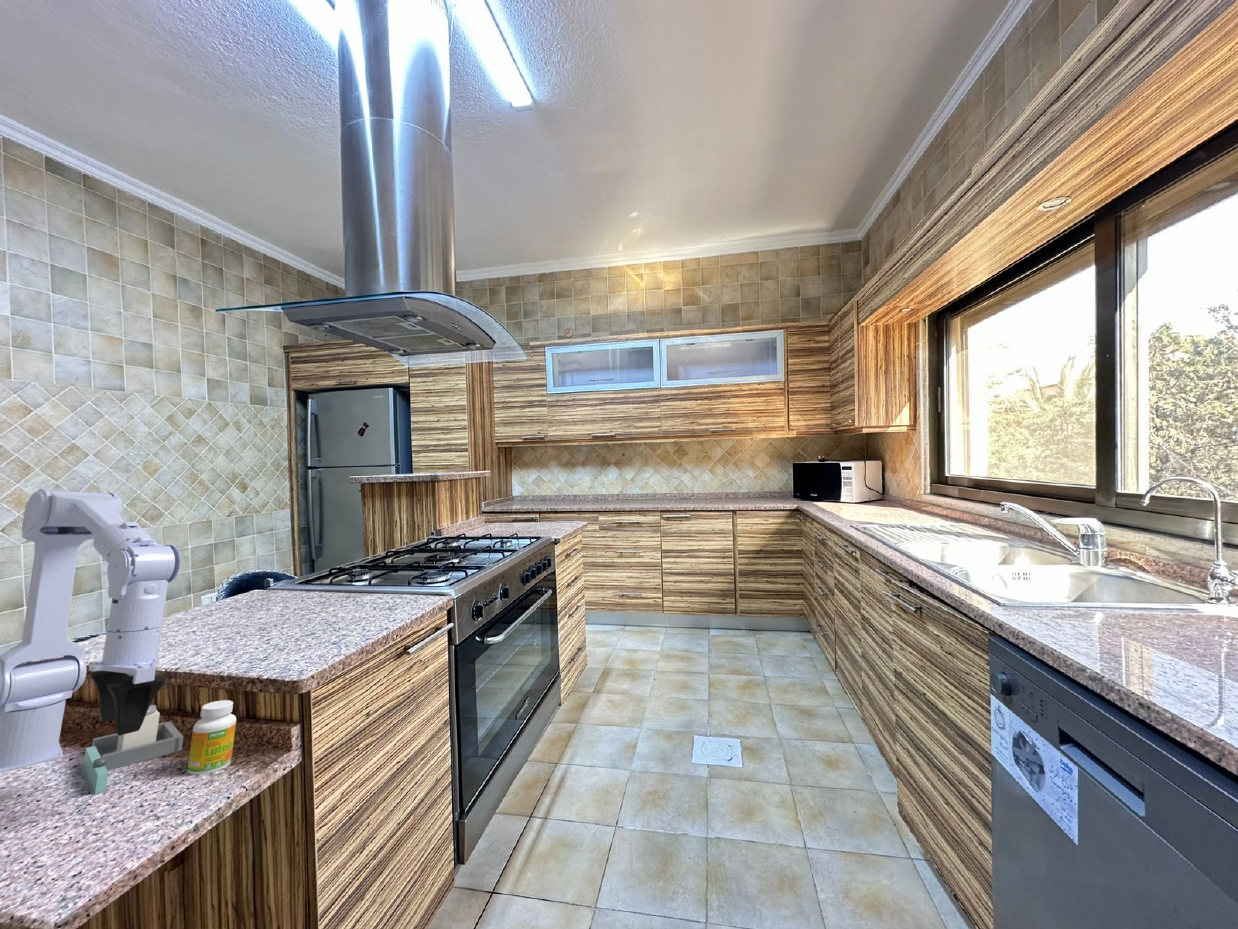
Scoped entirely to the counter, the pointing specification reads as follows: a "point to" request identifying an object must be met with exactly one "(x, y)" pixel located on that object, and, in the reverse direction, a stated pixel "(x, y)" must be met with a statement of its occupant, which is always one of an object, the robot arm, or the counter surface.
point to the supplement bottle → (212, 738)
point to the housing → (135, 749)
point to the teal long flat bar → (96, 769)
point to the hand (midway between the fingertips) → (120, 726)
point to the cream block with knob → (141, 731)
